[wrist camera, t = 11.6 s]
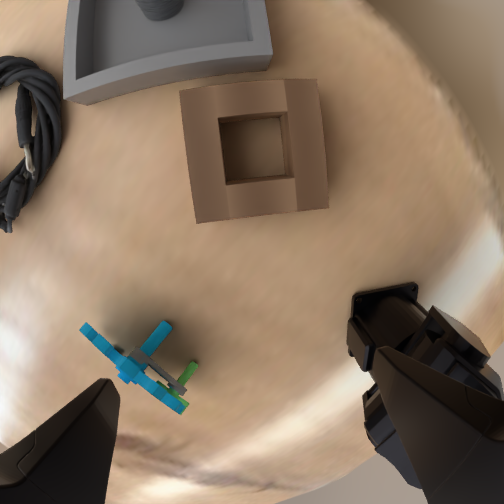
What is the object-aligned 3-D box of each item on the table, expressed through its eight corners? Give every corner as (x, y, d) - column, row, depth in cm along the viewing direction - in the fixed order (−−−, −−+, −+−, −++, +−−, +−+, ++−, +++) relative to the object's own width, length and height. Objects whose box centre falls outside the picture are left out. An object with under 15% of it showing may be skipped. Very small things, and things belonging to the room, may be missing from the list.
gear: (65, 324, 20) (91, 357, 13) (108, 277, 24) (156, 282, 16) (147, 397, 25) (207, 441, 18) (181, 354, 28) (248, 382, 21)
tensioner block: (304, 88, 17) (316, 78, 15) (315, 200, 20) (329, 208, 17) (187, 100, 17) (179, 90, 14) (201, 213, 20) (196, 223, 17)
